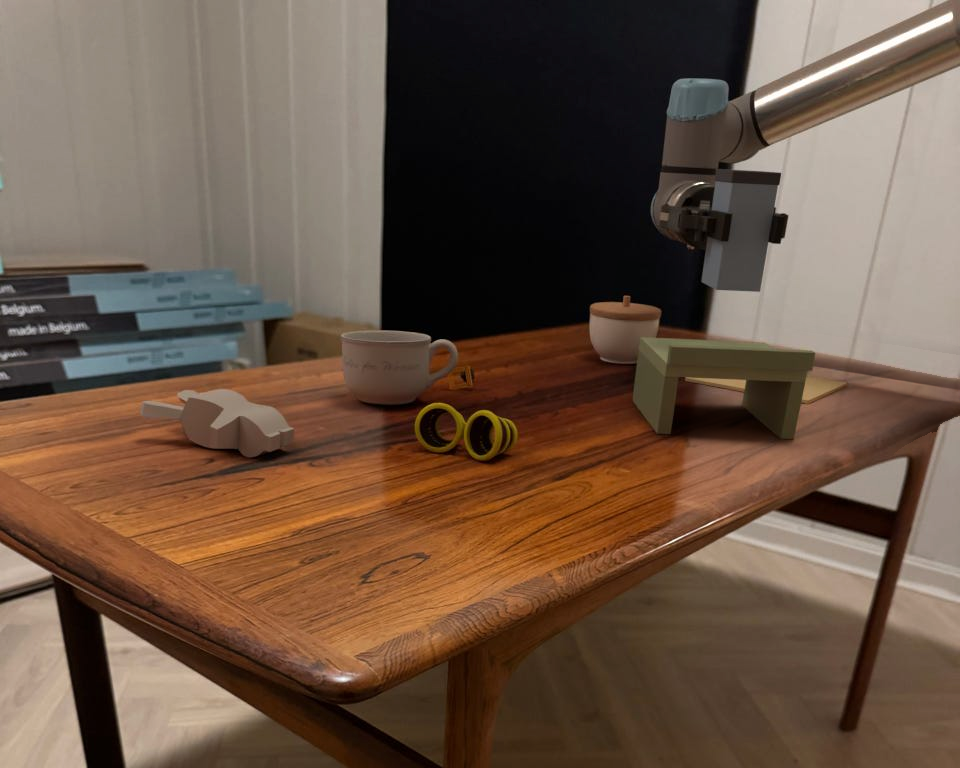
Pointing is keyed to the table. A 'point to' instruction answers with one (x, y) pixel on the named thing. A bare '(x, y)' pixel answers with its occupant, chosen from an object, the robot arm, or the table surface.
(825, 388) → the mat
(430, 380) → the teacup
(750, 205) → the dark-capped grey pillar
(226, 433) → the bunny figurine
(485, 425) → the opera glasses
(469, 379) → the framed picture
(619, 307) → the trinket box
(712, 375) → the stool
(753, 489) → the table surface
